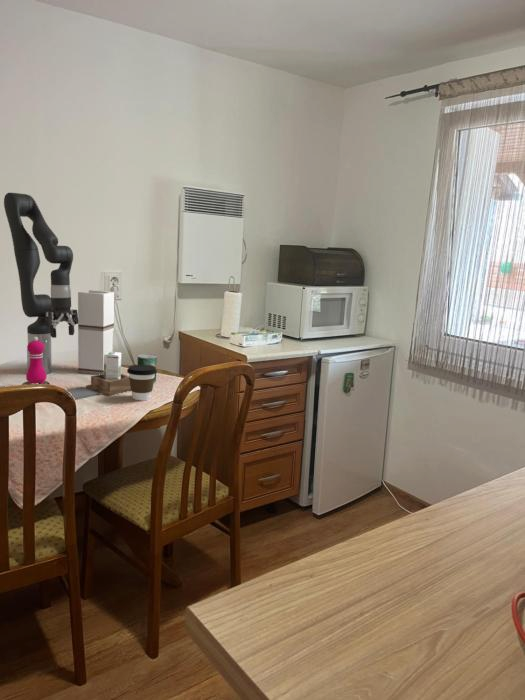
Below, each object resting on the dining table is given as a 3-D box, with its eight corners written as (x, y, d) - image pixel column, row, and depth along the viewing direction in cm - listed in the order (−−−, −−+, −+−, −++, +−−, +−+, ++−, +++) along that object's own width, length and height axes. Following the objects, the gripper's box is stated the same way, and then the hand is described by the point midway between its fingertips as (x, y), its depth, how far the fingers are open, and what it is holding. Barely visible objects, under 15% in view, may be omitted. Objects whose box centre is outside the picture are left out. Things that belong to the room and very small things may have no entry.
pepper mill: (50, 386, 209) (49, 336, 205) (40, 391, 202) (39, 339, 198) (32, 384, 209) (31, 334, 205) (22, 389, 202) (21, 337, 198)
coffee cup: (124, 395, 204) (125, 364, 201) (153, 393, 208) (154, 363, 205) (128, 403, 194) (129, 371, 191) (158, 401, 198) (159, 370, 196)
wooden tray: (86, 388, 209) (86, 376, 208) (114, 382, 220) (115, 370, 219) (109, 396, 201) (109, 383, 200) (137, 389, 212) (138, 377, 211)
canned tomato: (133, 381, 223) (133, 355, 221) (145, 377, 230) (145, 353, 228) (147, 384, 220) (148, 358, 217) (160, 381, 226) (160, 355, 224)
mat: (56, 393, 200) (56, 392, 200) (81, 388, 209) (81, 386, 209) (74, 400, 194) (74, 398, 194) (99, 394, 202) (99, 392, 202)
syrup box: (106, 386, 213) (106, 351, 210) (121, 387, 213) (121, 352, 211) (103, 390, 207) (103, 354, 204) (118, 391, 208) (118, 355, 205)
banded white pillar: (113, 369, 240) (114, 292, 233) (103, 375, 230) (103, 294, 223) (89, 367, 242) (89, 290, 235) (78, 372, 232) (77, 292, 225)
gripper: (69, 294, 221) (70, 333, 224) (39, 296, 209) (41, 337, 212) (81, 295, 217) (83, 335, 220) (52, 297, 205) (54, 339, 208)
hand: (62, 336), depth 216 cm, fingers open, 8 cm apart
